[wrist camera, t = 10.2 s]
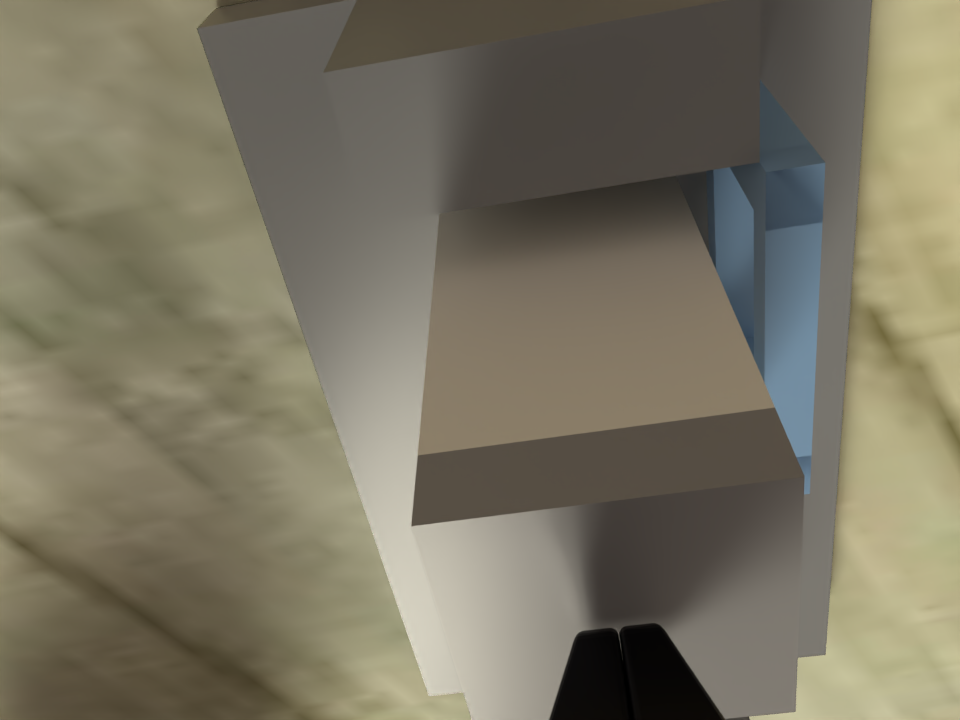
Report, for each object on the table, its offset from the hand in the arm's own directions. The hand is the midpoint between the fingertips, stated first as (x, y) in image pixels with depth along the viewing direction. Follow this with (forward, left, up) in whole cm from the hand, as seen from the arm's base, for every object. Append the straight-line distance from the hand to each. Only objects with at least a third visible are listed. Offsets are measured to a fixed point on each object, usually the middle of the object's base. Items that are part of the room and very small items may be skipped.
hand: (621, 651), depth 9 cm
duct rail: (-4, 0, -10) cm, 10 cm away
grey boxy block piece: (0, 0, -8) cm, 8 cm away
